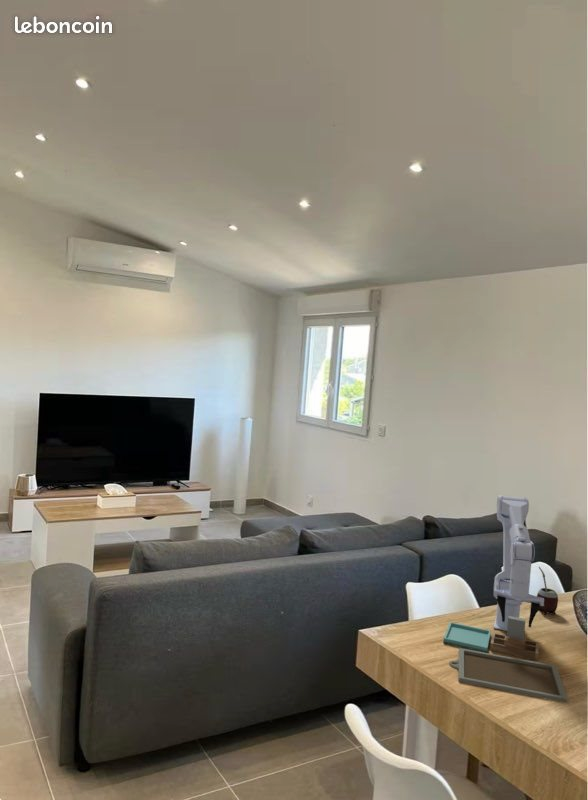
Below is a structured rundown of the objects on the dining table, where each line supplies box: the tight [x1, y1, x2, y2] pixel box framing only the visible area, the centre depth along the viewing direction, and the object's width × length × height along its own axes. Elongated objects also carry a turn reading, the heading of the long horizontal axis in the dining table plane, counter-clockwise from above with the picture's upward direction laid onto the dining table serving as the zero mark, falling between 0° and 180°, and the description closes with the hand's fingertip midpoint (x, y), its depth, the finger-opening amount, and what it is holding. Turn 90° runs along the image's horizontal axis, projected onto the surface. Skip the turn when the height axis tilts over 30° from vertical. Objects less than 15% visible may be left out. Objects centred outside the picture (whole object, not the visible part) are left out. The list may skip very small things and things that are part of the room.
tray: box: [442, 621, 492, 653], centre depth 188 cm, size 14×13×2 cm
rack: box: [489, 632, 540, 662], centre depth 183 cm, size 8×14×2 cm, turn 67°
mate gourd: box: [536, 566, 559, 616], centre depth 216 cm, size 8×8×15 cm
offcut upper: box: [504, 635, 526, 650], centre depth 181 cm, size 3×6×2 cm, turn 67°
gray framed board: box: [448, 647, 568, 704], centre depth 167 cm, size 19×2×30 cm
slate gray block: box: [506, 616, 526, 640], centre depth 185 cm, size 2×5×9 cm, turn 67°
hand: (516, 623), depth 185 cm, fingers open, 7 cm apart
